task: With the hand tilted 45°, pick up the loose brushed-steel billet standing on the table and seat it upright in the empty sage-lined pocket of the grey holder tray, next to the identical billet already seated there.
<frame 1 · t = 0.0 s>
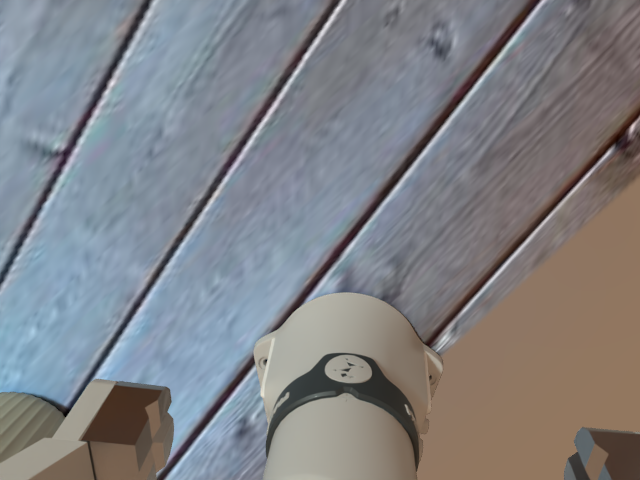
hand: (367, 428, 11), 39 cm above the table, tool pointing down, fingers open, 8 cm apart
canister: (30, 431, 63), on the table
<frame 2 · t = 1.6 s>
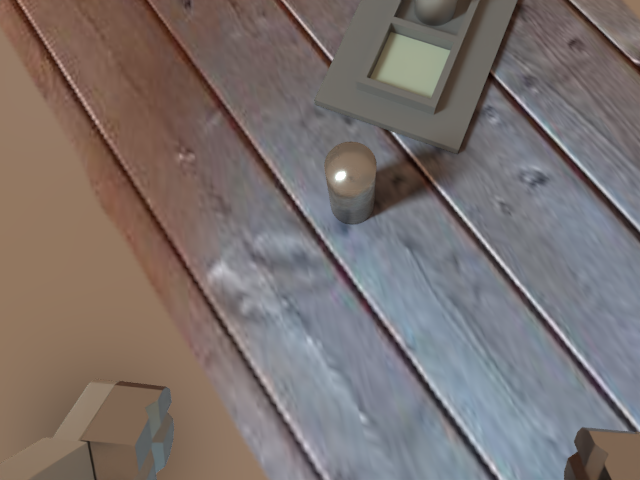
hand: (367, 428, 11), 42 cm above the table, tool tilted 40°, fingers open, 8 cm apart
grey holder tray: (421, 43, 61), on the table
billet: (352, 203, 57), on the table
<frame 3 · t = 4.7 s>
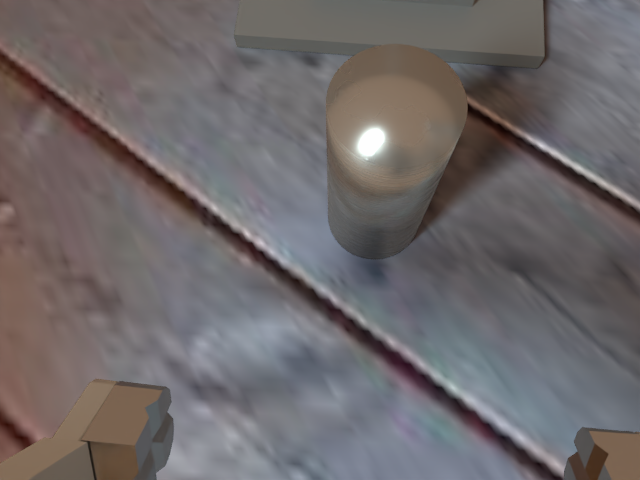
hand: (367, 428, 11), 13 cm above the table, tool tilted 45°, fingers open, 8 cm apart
billet: (373, 215, 27), on the table
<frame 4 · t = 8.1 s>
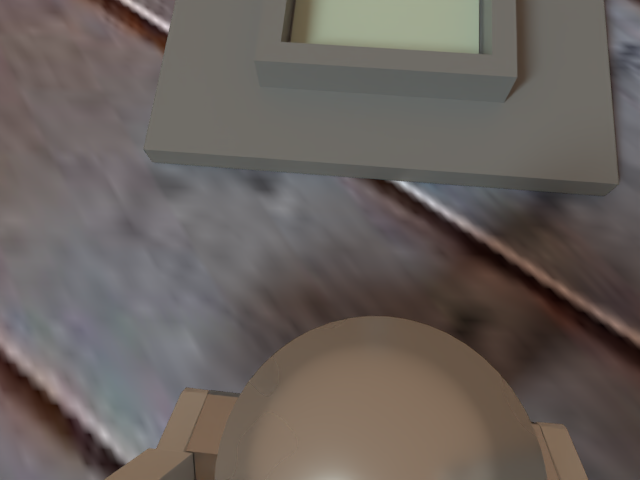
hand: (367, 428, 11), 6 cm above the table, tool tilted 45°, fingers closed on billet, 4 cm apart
billet: (354, 449, 17), on the table, touching gripper
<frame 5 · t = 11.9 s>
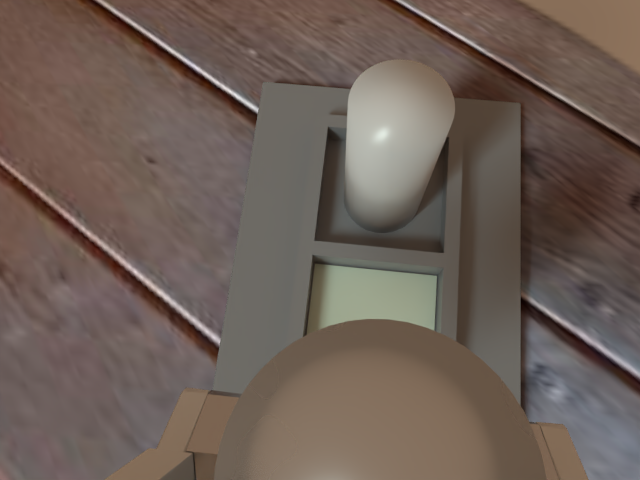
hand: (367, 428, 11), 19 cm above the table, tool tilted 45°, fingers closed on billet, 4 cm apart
grey holder tray: (374, 266, 32), on the table
billet: (354, 450, 17), point 13 cm above the table, touching gripper
when the fingers open (9 cm above the table, at t = 15.9 s): billet drops 1 cm, resting on grey holder tray.
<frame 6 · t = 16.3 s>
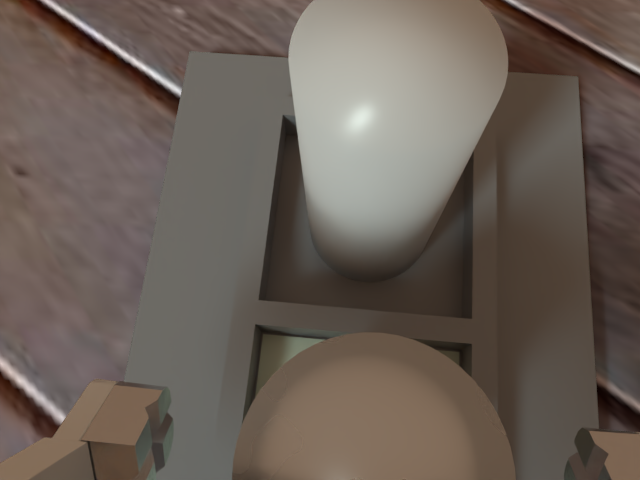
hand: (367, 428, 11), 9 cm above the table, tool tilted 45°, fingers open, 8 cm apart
grey holder tray: (360, 333, 20), on the table
billet: (353, 448, 18), point 1 cm above the table, touching grey holder tray
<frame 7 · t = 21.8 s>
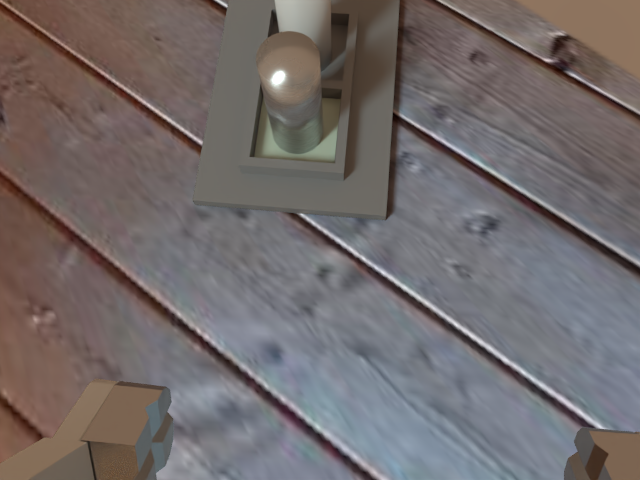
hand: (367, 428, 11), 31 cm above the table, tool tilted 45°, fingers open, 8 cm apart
grey holder tray: (303, 98, 50), on the table
billet: (297, 131, 47), point 1 cm above the table, touching grey holder tray
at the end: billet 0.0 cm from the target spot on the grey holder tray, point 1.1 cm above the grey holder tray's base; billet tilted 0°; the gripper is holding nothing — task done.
